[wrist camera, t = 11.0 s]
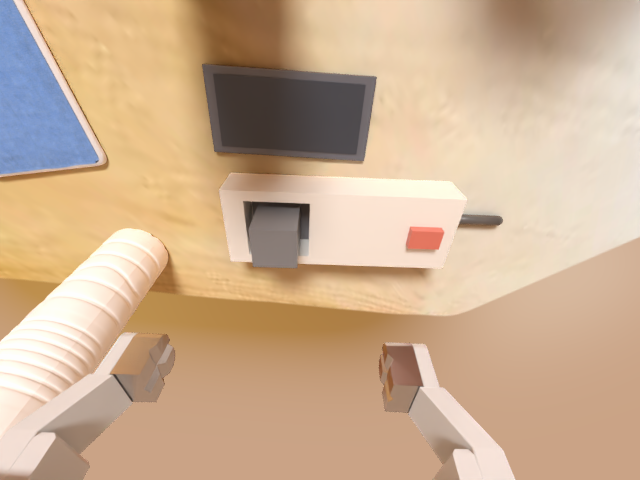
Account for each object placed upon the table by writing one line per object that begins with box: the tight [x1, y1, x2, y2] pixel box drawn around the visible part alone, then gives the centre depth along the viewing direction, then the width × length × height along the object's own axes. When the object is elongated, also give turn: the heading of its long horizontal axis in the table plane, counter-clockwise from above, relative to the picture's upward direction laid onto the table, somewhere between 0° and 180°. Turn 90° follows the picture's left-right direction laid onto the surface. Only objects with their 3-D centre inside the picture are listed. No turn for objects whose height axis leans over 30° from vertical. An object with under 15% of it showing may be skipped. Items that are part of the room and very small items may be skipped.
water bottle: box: [0, 228, 168, 439], centre depth 23 cm, size 9×6×25 cm
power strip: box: [219, 173, 503, 269], centre depth 29 cm, size 28×8×5 cm, turn 88°
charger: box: [249, 202, 301, 268], centre depth 28 cm, size 4×4×6 cm
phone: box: [202, 64, 377, 161], centre depth 26 cm, size 14×7×1 cm, turn 86°
